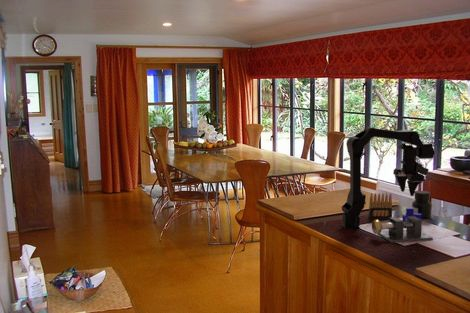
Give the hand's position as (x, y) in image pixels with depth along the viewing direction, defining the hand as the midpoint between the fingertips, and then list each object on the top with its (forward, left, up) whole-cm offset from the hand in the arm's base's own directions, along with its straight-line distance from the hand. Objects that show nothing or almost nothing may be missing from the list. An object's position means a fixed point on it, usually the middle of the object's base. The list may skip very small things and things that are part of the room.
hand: (407, 193), depth 226 cm
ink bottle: (+14, +11, -14) cm, 23 cm away
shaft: (-15, -17, -12) cm, 26 cm away
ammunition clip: (-6, +13, -14) cm, 20 cm away
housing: (-10, -17, -14) cm, 24 cm away
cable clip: (+3, +1, -15) cm, 15 cm away
